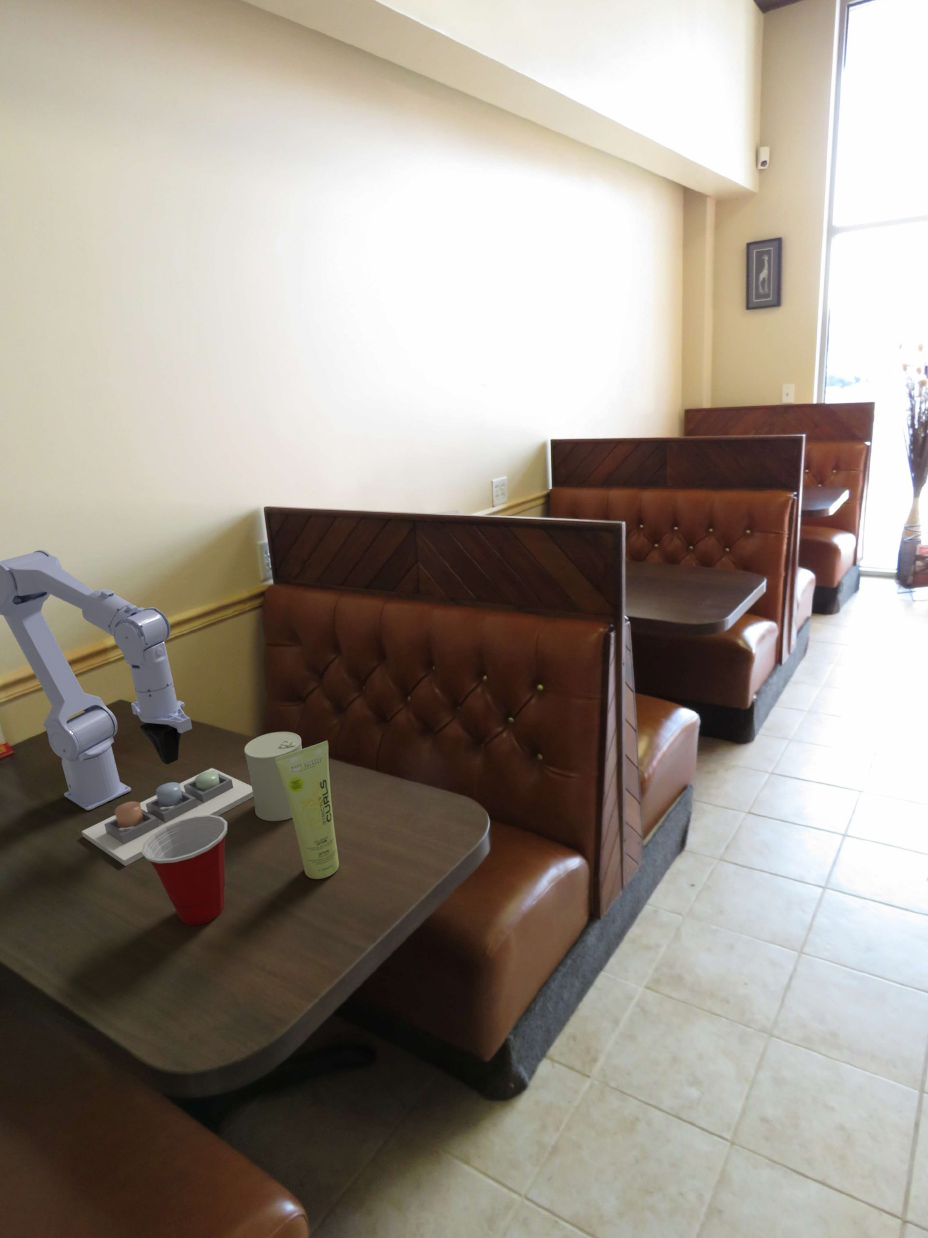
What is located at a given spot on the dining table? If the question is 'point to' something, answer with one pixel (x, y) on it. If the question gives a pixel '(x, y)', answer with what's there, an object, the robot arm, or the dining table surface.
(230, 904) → the dining table surface
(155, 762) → the dining table surface
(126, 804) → the peach button
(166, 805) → the slate button
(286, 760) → the tube
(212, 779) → the sage button
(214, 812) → the console
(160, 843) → the plastic cup
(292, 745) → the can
